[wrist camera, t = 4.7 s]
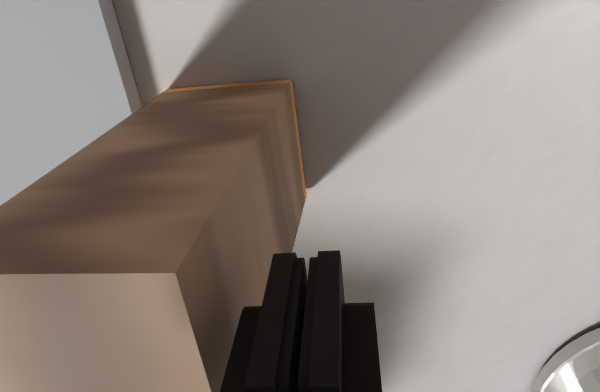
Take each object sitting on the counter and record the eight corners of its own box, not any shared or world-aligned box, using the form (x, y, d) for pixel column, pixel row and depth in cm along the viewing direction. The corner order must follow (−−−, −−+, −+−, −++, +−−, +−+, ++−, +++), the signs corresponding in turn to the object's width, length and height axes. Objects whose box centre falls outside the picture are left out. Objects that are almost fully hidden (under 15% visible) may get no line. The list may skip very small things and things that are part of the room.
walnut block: (292, 78, 20) (175, 272, 8) (306, 195, 23) (235, 469, 11) (167, 89, 21) (-99, 274, 9) (196, 199, 24) (19, 453, 12)
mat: (89, -79, 18) (74, -80, 17) (197, 301, 28) (191, 315, 27) (-241, -29, 20) (-273, -28, 19) (-37, 308, 30) (-51, 321, 29)
